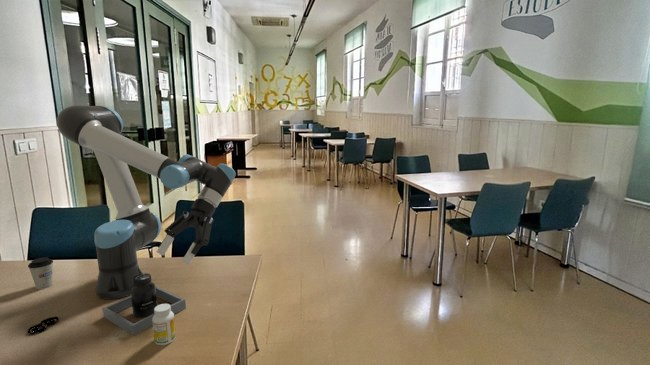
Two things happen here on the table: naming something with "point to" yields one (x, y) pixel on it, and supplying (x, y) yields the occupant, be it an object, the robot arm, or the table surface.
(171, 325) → the supplement bottle
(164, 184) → the robot arm
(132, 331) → the square frame
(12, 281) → the table surface
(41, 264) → the coffee cup
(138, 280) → the supplement bottle
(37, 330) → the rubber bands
